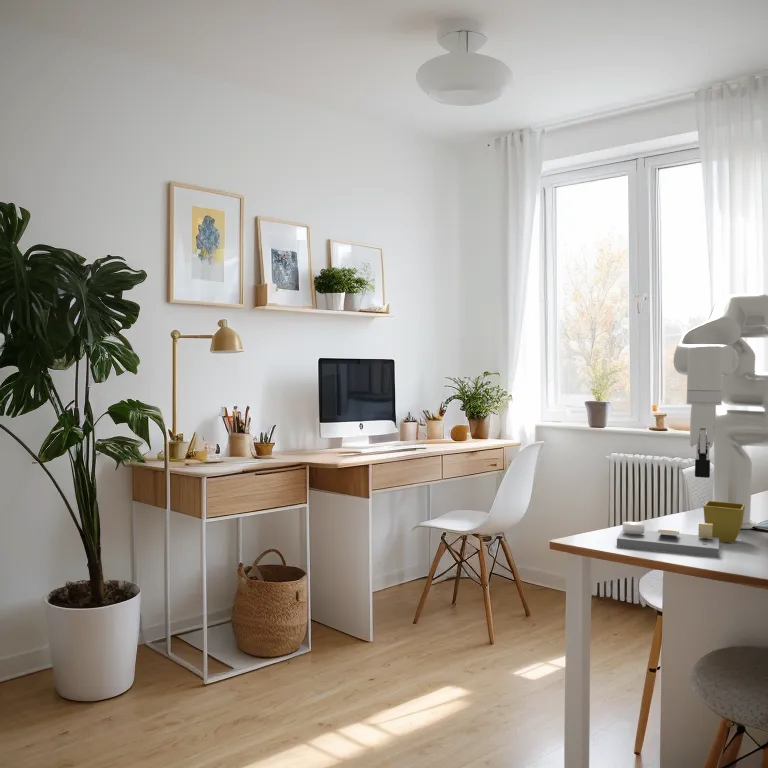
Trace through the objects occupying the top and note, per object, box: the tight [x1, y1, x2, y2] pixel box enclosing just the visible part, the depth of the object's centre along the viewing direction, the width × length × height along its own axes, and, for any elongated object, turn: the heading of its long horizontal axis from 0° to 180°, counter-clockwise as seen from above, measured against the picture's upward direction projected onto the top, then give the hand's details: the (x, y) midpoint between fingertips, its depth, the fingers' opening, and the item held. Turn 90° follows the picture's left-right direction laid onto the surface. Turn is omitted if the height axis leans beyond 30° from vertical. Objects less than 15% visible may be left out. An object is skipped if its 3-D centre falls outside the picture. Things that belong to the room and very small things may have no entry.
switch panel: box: [616, 529, 720, 559], centre depth 183 cm, size 14×22×3 cm, turn 66°
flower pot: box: [702, 500, 745, 544], centre depth 191 cm, size 9×9×9 cm
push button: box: [622, 521, 646, 534], centre depth 186 cm, size 5×5×2 cm
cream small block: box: [697, 522, 713, 539], centre depth 183 cm, size 2×3×3 cm, turn 66°
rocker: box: [657, 528, 680, 535], centre depth 183 cm, size 6×4×1 cm
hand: (702, 476), depth 179 cm, fingers closed
